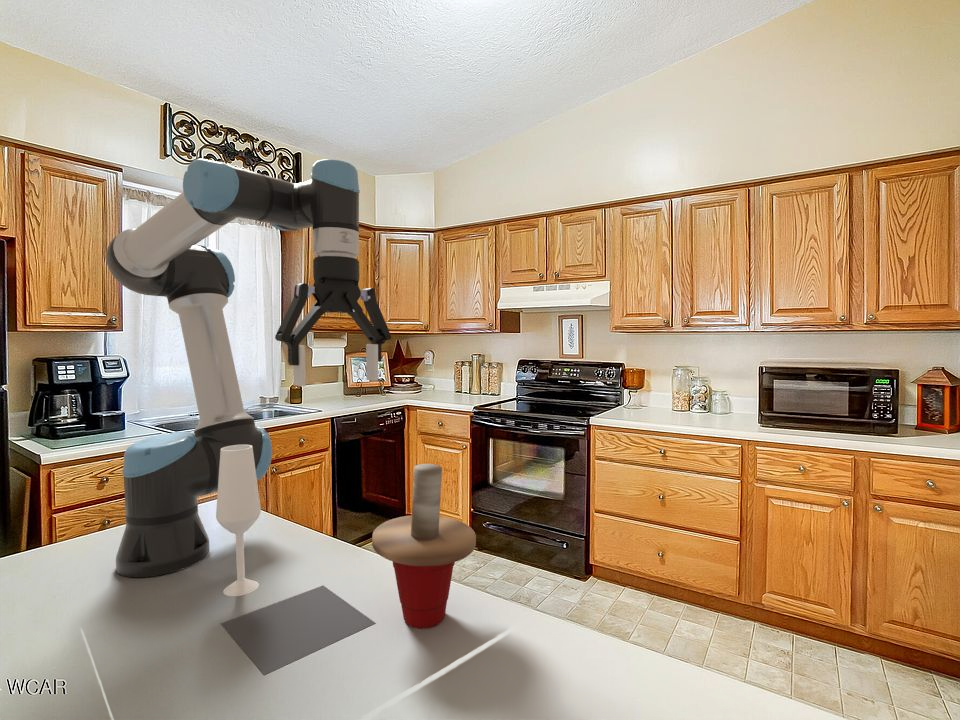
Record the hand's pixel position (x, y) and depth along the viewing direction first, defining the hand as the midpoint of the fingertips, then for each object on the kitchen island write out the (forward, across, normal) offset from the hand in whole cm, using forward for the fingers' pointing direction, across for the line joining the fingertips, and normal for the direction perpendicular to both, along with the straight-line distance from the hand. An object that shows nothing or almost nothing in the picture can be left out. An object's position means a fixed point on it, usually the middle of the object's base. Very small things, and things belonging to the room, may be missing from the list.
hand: (337, 383), depth 87 cm
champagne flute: (+34, -14, +8) cm, 38 cm away
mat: (+34, -12, -10) cm, 37 cm away
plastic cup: (+34, +2, -22) cm, 40 cm away
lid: (+22, +2, -21) cm, 30 cm away
